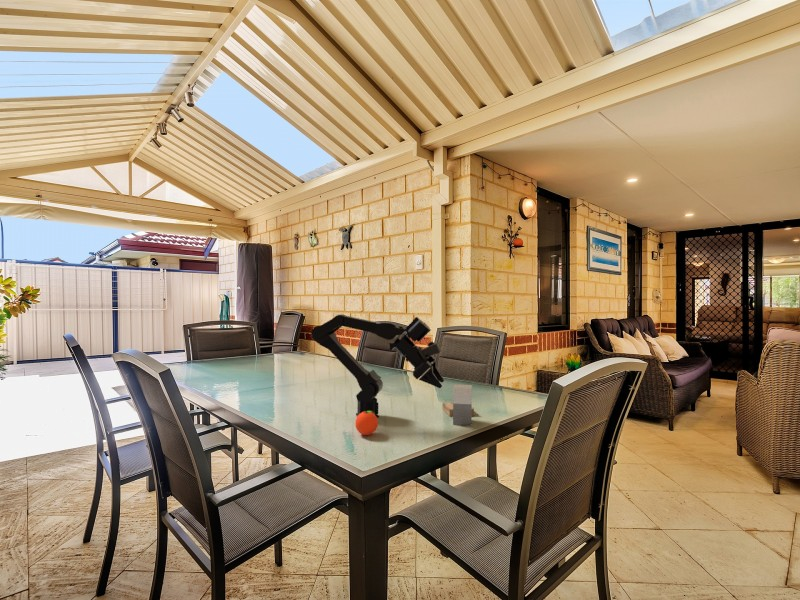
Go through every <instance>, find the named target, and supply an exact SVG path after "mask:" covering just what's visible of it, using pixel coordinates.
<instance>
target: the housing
mask: <svg viewBox="0 0 800 600" xmlns="http://www.w3.org/2000/svg"><path fill="white" fill-rule="evenodd" d="M472 386H473V385H472V384H453V388H452V390H453V391H452V397H453V398H452V403H453V417H452V425H453V426H469V427H470V426H471V427H472V407H473V404H472V403H473V401H472V397H473V396H472V395H473V393H472V392H473V391H472V390H473V387H472Z"/></svg>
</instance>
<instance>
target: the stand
mask: <svg viewBox="0 0 800 600" xmlns="http://www.w3.org/2000/svg"><path fill="white" fill-rule="evenodd" d="M442 411H443V412H444V413H445V414H446V415H448V416H449V417H452V418H453V402H442ZM474 415H475V408H474V407H473V406H472V416H474Z"/></svg>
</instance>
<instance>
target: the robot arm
mask: <svg viewBox="0 0 800 600" xmlns="http://www.w3.org/2000/svg"><path fill="white" fill-rule="evenodd" d="M342 327H344V328H348V329H354V330H359V331H364V332H366V333H367V332H368V333H372V334H373V335H376V336H378V338H379V337H380V338H382V339H385V340H387V341H389V340H394V339H395V338H396V339H395V340H394V341H391V342H389V352H391V351H393V350H394V349H396V350H397V351H398V352H399V353H400V354H401V355H402V356H403V357H404V358H405V362H407V363H408V362H409V363H410V364H411V366H412V367H414V368H413V369H414V370H413V372H412V376H413V378H415V379H416V380H419V381H421V382H423V383H427V384H429V385H432V386H433V387H436V388H438V389H441V388H443V385H442V383H443V382H444V381H445V378H443V376H442V374H441V373H440V371H439V369H438V367H437V360H436V357H435V356H434V355H435V354H436V355H437V354H440V353H441V348H440V346H439V343H438V342H435V341H434V342H433V341H430V342H428V344H427V346H426V347H424V348H422V347H421V346H418V345H416V343H415V342H418V343H420V342H421V341H422V340H423V339H424V338H425V337H426V336H427V335H428V334H429V333H430V332H431V331H432V330H431V328H430V327H429V326H428V324H427V323H426V322H424V321H422V320H421V319H420V318H419V317H418V316H416V317H414V319H412V321H411V322H410V323H409V324H408V325H407V326H401V325H400V326H399V324H398V323H397V322H394V321H392V322H391V321H372V320H367V319H363V318H359V317H354V316H348V315H345V314H336V315H335V316H334V317H333V318H331V319H329V320H328V321H326V322H324V323H323V324H322V325H321V324H320V325H316V326H314V327H313V328H312V330H311V333H310V334H311V335H310V336H311V338H312V340H313V341H314V342H316V344H318V345H319V346H321V347H323V348H325V349H327V350H328V351H329V352H331V354H332V355H333V356H334V357H335V358H336V359H337V360H338V361H339V362H340V363H341V364H342V365H343V366H344V367H345V369H347V371H348V372H349V373H350V374H351V375H352V376H353V377H354V378H355V379H356V382H357V384H358V386H359V388H360V391H359V392H358V393H357V394H356V395H355V398H356V402H357V413H355V416H356V417H357V416H358V415H359V414H360V413H362V412H365V411H373V412H374V413H375V415H376V417H377V419H379V417H380V416H379V402H378V398H376V397H377V396H378V394H379V393H380V392H381V391H382V390H383V386H384V385H383V384H384V383H383V380H382V379H381V378H382V376H380V375H378V374H377V372H376V371H375V369H372V370H370V371H369V370H367V369H365V368H364V366H363V365H362V364H361V363H360V362H359V361H358V360H357V359H356V358H355V356H353V355H352V354H351V353H350V352H349V351H348V350H347V348H345V346H344V345H342V343H341V342H340V341H339V339H338V336H337V335H336V333H335V332H337V331H338V330H340V328H342ZM400 335H403V336H402V337H400ZM373 412H372V413H373ZM374 413H373V414H374Z"/></svg>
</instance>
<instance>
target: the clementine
mask: <svg viewBox="0 0 800 600" xmlns="http://www.w3.org/2000/svg"><path fill="white" fill-rule="evenodd" d="M372 412H373V411H365V412H362V413H360V414H359V415H358V416H357V415H356V419H355V423H354V424H355V425H354V426H355V428H356V430H357V432H358V433H359V434H361V435H363V436H369V435H372V434H374V433H375V432H376V431H377V430H378V429H377V428H378V426H379V418H377V417H376V415H375V413H374V412H373V413H374V414H373V413H372Z"/></svg>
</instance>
